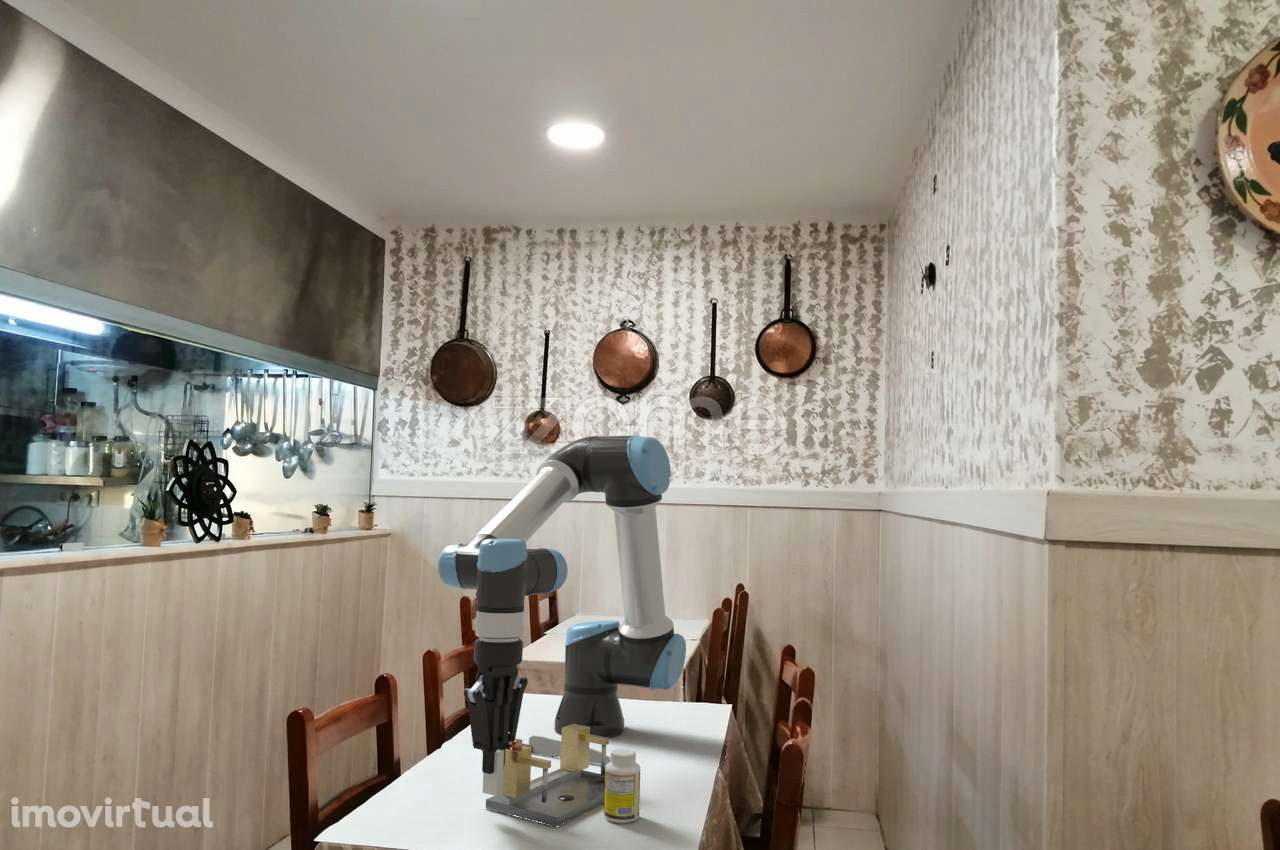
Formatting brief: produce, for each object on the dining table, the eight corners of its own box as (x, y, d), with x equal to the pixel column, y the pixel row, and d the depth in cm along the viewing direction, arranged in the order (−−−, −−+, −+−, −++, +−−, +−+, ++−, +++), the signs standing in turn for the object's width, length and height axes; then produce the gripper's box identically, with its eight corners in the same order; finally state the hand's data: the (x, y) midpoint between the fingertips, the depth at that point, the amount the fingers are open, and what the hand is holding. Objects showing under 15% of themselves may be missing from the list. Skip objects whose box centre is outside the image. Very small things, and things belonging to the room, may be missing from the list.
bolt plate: (565, 774, 161) (565, 760, 161) (631, 789, 153) (631, 774, 154) (485, 809, 142) (486, 792, 142) (556, 827, 135) (557, 810, 135)
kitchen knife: (490, 730, 178) (623, 748, 165) (493, 729, 179) (626, 747, 166) (489, 751, 177) (623, 772, 164) (492, 750, 178) (625, 770, 165)
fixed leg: (571, 764, 159) (573, 723, 159) (611, 773, 154) (612, 731, 155) (560, 769, 156) (561, 727, 156) (600, 778, 151) (601, 735, 152)
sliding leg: (512, 789, 144) (514, 736, 145) (554, 799, 140) (556, 744, 141) (497, 795, 141) (500, 741, 142) (540, 805, 137) (542, 749, 137)
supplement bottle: (619, 809, 143) (622, 744, 144) (646, 818, 140) (648, 751, 141) (596, 818, 139) (598, 751, 140) (623, 827, 136) (625, 758, 136)
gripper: (506, 630, 147) (500, 777, 145) (452, 640, 135) (445, 799, 133) (543, 635, 143) (537, 786, 141) (490, 645, 132) (483, 809, 130)
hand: (492, 792), depth 137 cm, fingers closed
